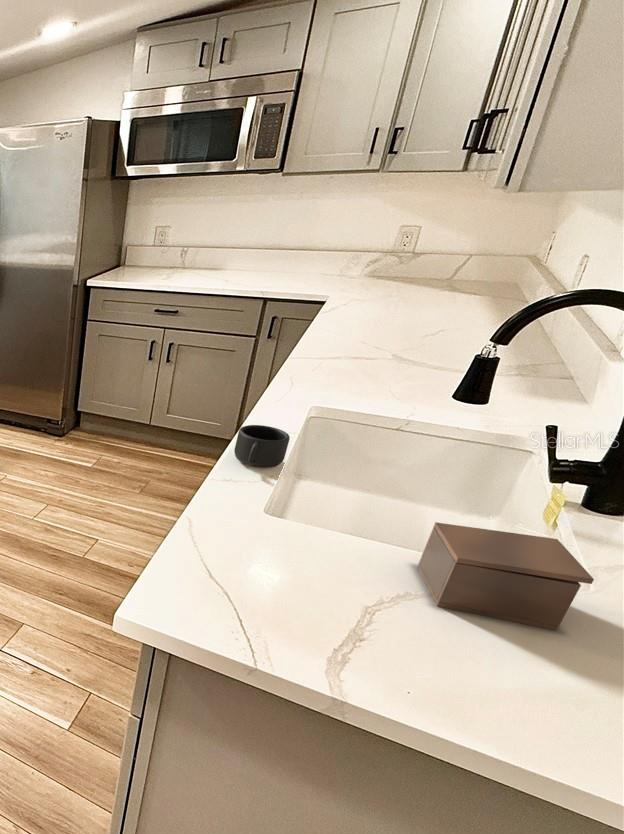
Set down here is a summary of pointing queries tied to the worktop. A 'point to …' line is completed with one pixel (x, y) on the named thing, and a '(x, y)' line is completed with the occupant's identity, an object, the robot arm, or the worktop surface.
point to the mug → (261, 446)
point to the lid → (511, 552)
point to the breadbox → (494, 589)
